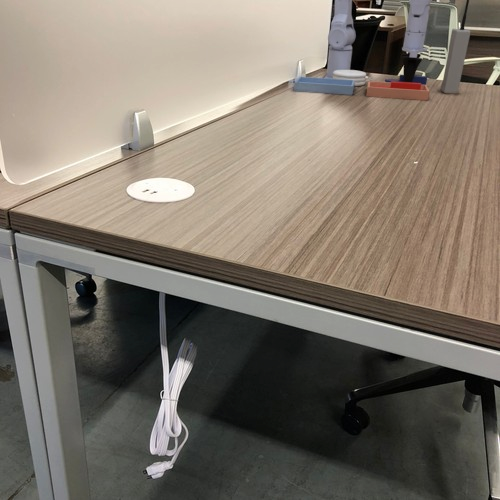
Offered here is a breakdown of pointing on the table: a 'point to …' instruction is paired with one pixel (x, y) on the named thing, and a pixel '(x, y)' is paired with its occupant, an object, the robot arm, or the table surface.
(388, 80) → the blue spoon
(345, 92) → the blue bin
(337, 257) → the table surface
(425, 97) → the red bin
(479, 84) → the table surface
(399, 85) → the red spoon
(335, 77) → the coaster
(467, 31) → the vintage mobile phone
